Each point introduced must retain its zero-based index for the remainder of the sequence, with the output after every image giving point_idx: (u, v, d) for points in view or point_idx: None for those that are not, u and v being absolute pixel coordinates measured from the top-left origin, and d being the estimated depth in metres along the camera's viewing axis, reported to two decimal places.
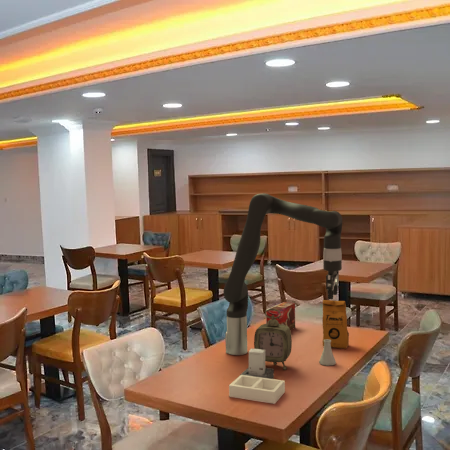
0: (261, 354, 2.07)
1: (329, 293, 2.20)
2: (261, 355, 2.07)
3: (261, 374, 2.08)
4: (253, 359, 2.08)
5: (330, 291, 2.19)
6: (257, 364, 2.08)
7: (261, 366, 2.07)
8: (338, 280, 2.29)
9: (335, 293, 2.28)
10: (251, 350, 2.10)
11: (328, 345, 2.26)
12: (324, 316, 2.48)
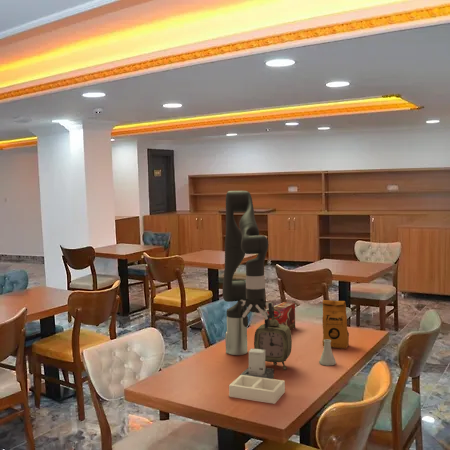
0: (261, 354, 2.07)
1: (268, 322, 2.06)
2: (261, 355, 2.07)
3: (261, 374, 2.08)
4: (253, 359, 2.08)
5: None
6: (257, 364, 2.08)
7: (261, 366, 2.07)
8: None
9: (247, 324, 2.11)
10: (251, 350, 2.10)
11: (328, 345, 2.26)
12: (324, 316, 2.48)
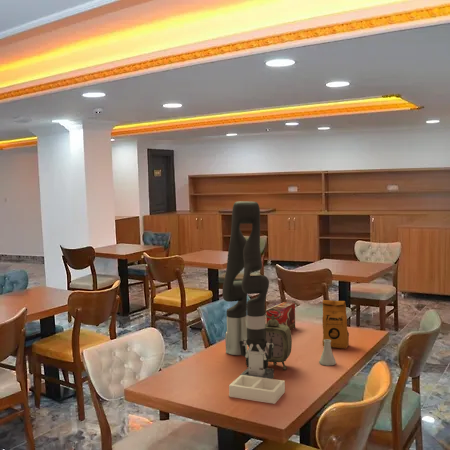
0: None
1: (267, 362, 2.08)
2: (261, 355, 2.07)
3: (261, 374, 2.08)
4: (253, 359, 2.08)
5: (267, 360, 2.08)
6: (257, 364, 2.08)
7: (261, 366, 2.07)
8: None
9: None
10: None
11: (328, 345, 2.26)
12: (324, 316, 2.48)
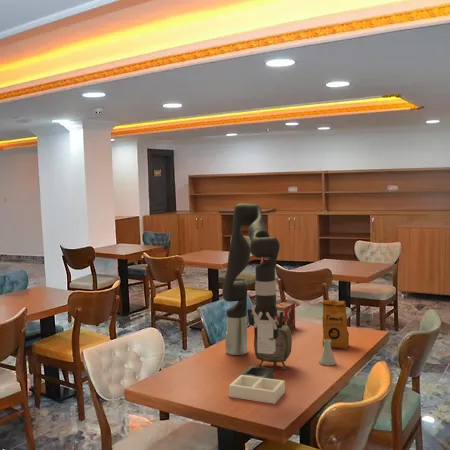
0: None
1: (277, 332, 1.91)
2: (271, 324, 1.90)
3: (271, 345, 1.91)
4: (262, 328, 1.91)
5: (278, 329, 1.91)
6: (267, 334, 1.91)
7: (271, 336, 1.90)
8: None
9: None
10: (260, 319, 1.93)
11: (328, 345, 2.26)
12: (324, 316, 2.48)
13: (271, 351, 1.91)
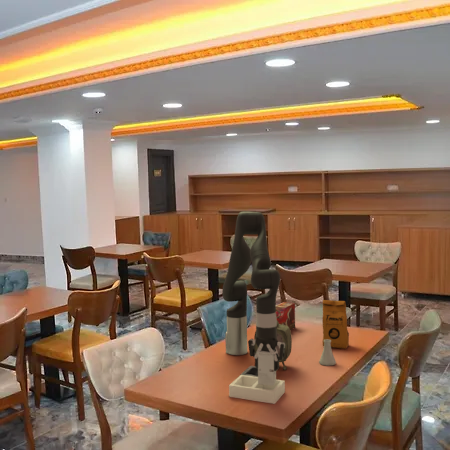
0: None
1: (278, 364, 1.92)
2: (272, 356, 1.91)
3: (272, 376, 1.92)
4: (262, 360, 1.92)
5: (278, 361, 1.92)
6: (267, 365, 1.92)
7: (272, 367, 1.91)
8: None
9: None
10: None
11: (328, 345, 2.26)
12: (324, 316, 2.48)
13: (272, 382, 1.92)
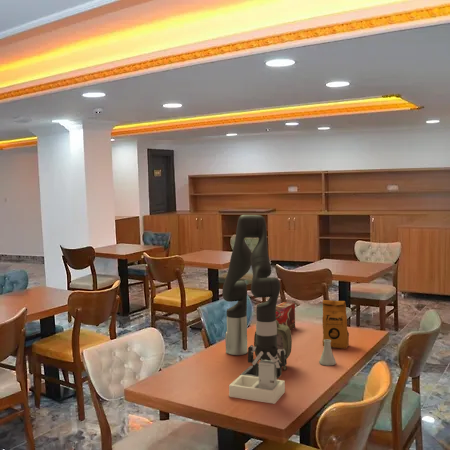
0: (272, 365, 1.92)
1: (280, 370, 1.92)
2: (272, 367, 1.92)
3: (272, 387, 1.92)
4: (263, 370, 1.93)
5: (281, 368, 1.92)
6: (268, 376, 1.92)
7: (272, 378, 1.92)
8: None
9: (257, 372, 1.96)
10: (261, 361, 1.94)
11: (328, 345, 2.26)
12: (324, 316, 2.48)
13: None
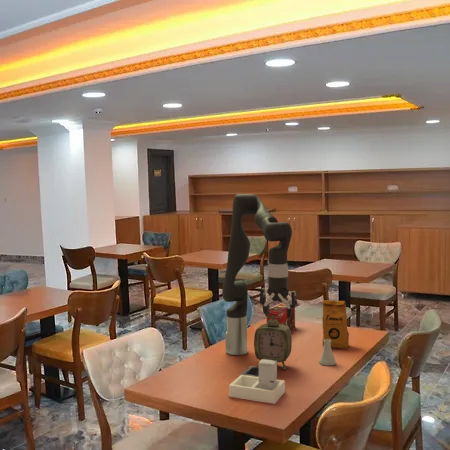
0: (272, 366, 1.91)
1: (291, 311, 2.01)
2: (272, 367, 1.92)
3: (272, 387, 1.92)
4: (263, 370, 1.93)
5: (291, 309, 2.01)
6: (268, 376, 1.92)
7: (272, 378, 1.92)
8: None
9: (268, 313, 2.05)
10: (261, 361, 1.94)
11: (328, 345, 2.26)
12: (324, 316, 2.48)
13: None
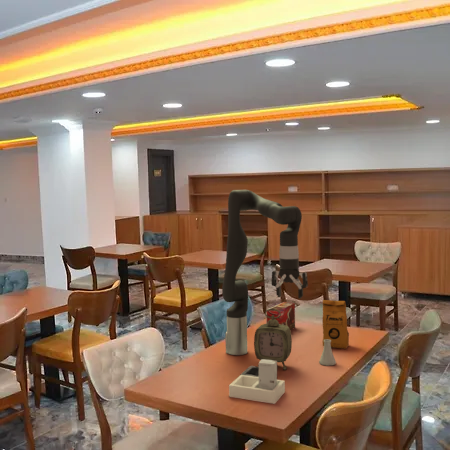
0: (272, 366, 1.91)
1: (302, 292, 2.09)
2: (272, 367, 1.92)
3: (272, 387, 1.92)
4: (263, 370, 1.93)
5: (302, 289, 2.09)
6: (268, 376, 1.92)
7: (272, 379, 1.92)
8: None
9: (280, 294, 2.13)
10: (261, 361, 1.94)
11: (328, 345, 2.26)
12: (324, 316, 2.48)
13: None
